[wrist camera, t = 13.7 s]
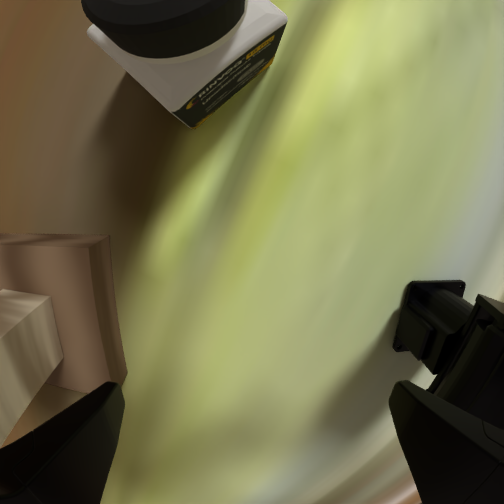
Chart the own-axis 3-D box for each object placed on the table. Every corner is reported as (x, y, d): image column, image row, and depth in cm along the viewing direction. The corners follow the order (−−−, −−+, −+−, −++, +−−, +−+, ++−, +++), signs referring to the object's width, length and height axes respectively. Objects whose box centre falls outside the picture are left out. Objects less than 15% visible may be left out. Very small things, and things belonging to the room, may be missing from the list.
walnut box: (112, 233, 20) (88, 248, 17) (129, 369, 24) (115, 398, 20) (0, 232, 20) (-28, 243, 16) (25, 349, 23) (6, 371, 19)
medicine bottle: (194, 132, 18) (134, 85, 7) (126, 67, 17) (31, -7, 5) (274, 63, 17) (317, -42, 6) (203, 3, 16) (179, -112, 4)
